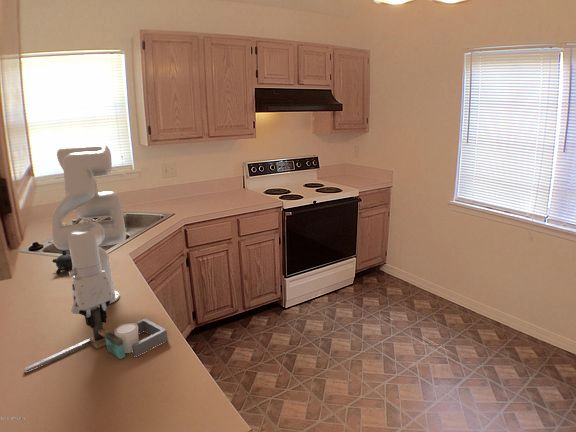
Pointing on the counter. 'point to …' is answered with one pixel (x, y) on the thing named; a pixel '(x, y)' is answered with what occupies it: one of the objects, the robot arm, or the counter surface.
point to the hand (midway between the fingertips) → (97, 323)
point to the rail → (58, 355)
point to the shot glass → (127, 335)
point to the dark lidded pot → (63, 262)
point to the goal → (155, 339)
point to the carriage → (105, 336)
